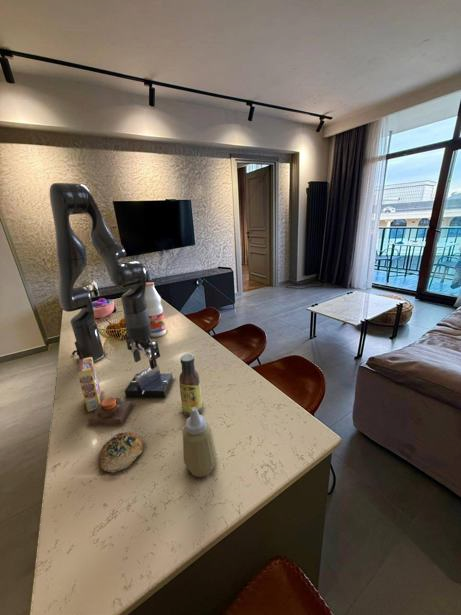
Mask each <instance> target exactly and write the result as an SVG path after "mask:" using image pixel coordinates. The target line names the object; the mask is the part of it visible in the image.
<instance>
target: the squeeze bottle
mask: <svg viewBox="0 0 461 615" xmlns="http://www.w3.org/2000/svg"><path fill="white" fill-rule="evenodd" d="M182 447H183V448H182V449H183V450H182V452H183V464H184V465H185V467H186V468H187V469H188V471H189V472H190V473H191V475H192V476H194V477H195V478H196V477H197V478H203V477H206V476H208V475H209V474H210V473H211V472H212V470H213V469H214V465H215V462H216V460H217V449H216V445H215V441H214V437H213V432H212V428H211V425H210V423H209V422H207V420H206V418H205V416H204V415H202V414H200V413H198V411H197V408H196V407H193V408H192V409H191V416H188V418H187V419H186V421H185V427H183V431H182Z"/></svg>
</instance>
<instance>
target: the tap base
mask: <svg viewBox="0 0 461 615" xmlns="http://www.w3.org/2000/svg"><path fill="white" fill-rule="evenodd" d="M137 374H138V373H135V375H137ZM160 375H161V376H160V377H158V378H157V379H155V380H154V381H153V382H151V383H150V384H148V385H147V386H145V387H144V388H142V389H139V388H137V384H136V379H135V376H133V378H132V380H131V381H130V382H129V384H128V385H127V387H126V388H125V390H124V393H125V398H126V399H141V398H142V399H166V397H167V395H168V392H169V390H170V388H171V385H172V384H173V381H174V377H173V373H160Z"/></svg>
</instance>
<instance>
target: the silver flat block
mask: <svg viewBox="0 0 461 615" xmlns="http://www.w3.org/2000/svg"><path fill="white" fill-rule="evenodd" d="M136 374H137V375H136ZM136 374H134V377H135V379H136V384H137V388H139V389H142V388H144V387H145V386H147V385H148V384H150V383H151V382H153V381H154V380H155V379H157V378H158V377H160V376H161V375H160V374H161V370H160V365H159V364H158V363H157V367H156V368H154V369H151V368H150V366H148V367H147V368H145V369H143V370H142V371H140V372H138V373H136Z"/></svg>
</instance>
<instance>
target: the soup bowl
mask: <svg viewBox="0 0 461 615" xmlns="http://www.w3.org/2000/svg"><path fill="white" fill-rule="evenodd" d="M92 304H93V309H94V313H95V319H103V318H105V317H107V316H110V315H111V314H112V313H113V312H114V310H115V300H114V299H111V298H110V299H109V298H108V299H106V298H105V297H99V298H98V300H95V301H92Z"/></svg>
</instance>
